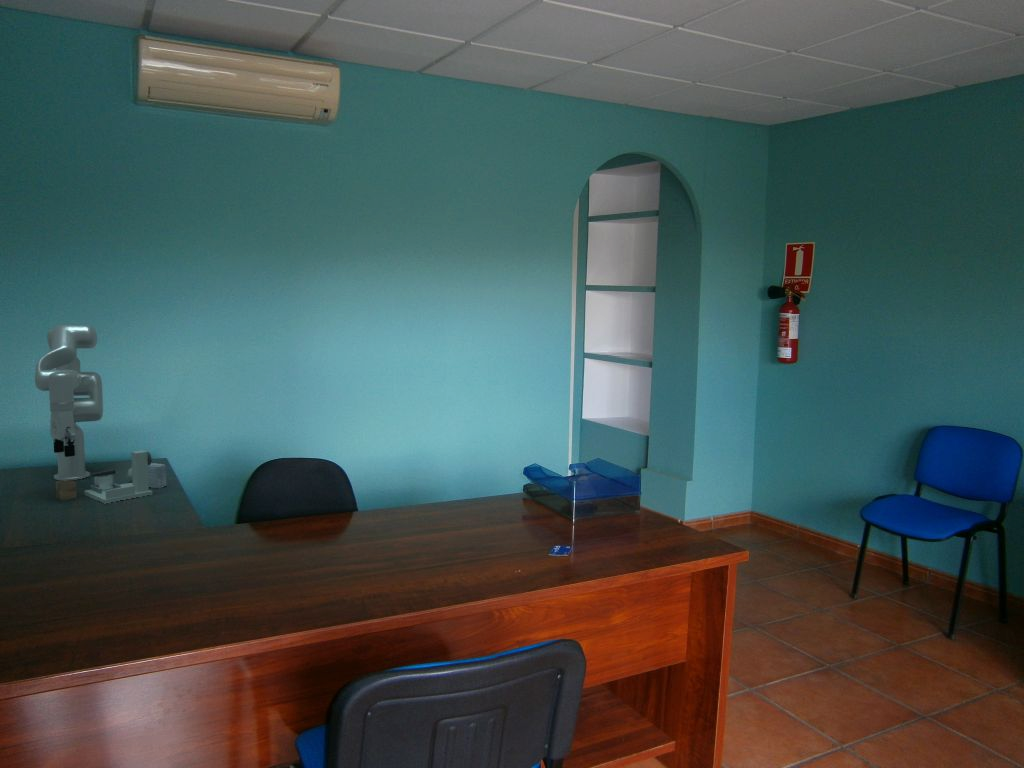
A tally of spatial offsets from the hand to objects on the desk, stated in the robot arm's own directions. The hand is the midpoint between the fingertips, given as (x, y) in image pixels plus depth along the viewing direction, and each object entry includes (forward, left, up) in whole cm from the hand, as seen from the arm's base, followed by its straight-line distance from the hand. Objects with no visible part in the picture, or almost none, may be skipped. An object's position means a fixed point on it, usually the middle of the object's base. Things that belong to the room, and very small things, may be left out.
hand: (64, 454), depth 283 cm
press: (+9, +15, -16) cm, 24 cm away
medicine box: (+6, +29, -16) cm, 34 cm away
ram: (+2, +12, -14) cm, 19 cm away
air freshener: (-5, +29, -16) cm, 34 cm away
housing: (0, 0, -16) cm, 16 cm away
